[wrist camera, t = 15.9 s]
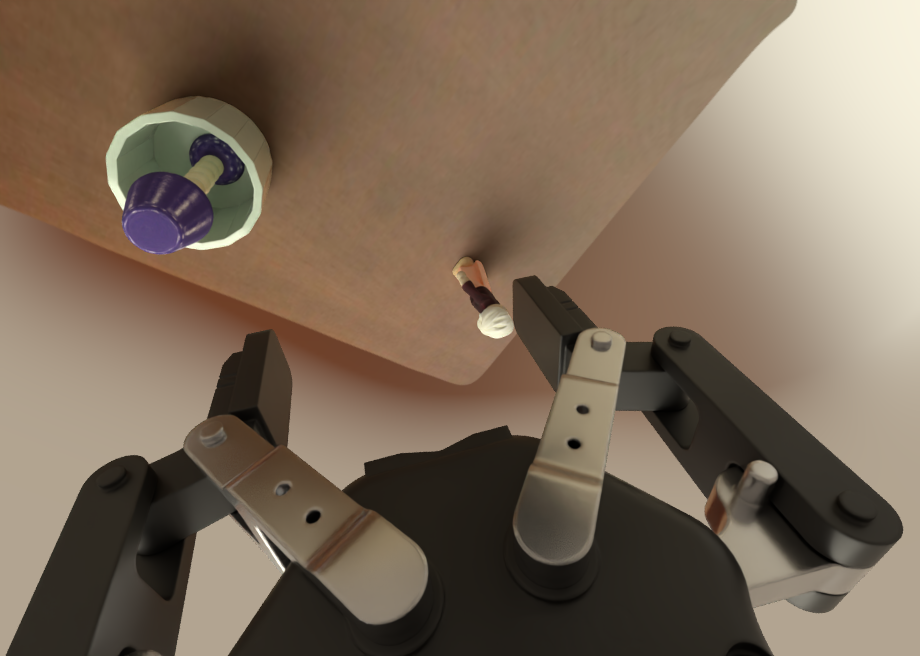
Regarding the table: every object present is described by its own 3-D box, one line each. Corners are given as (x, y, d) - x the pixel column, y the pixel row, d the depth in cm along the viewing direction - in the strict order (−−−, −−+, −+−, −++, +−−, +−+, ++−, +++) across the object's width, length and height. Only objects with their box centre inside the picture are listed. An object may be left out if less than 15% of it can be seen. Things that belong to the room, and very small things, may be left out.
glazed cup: (125, 103, 35) (74, 123, 28) (250, 89, 36) (233, 103, 29) (179, 218, 40) (149, 259, 33) (286, 201, 42) (279, 237, 35)
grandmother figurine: (499, 274, 53) (542, 333, 43) (478, 298, 54) (515, 360, 44) (453, 239, 49) (488, 295, 38) (431, 265, 50) (460, 326, 40)
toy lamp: (219, 198, 40) (167, 283, 26) (169, 157, 37) (83, 229, 24) (255, 162, 39) (221, 231, 25) (207, 117, 36) (140, 169, 23)
